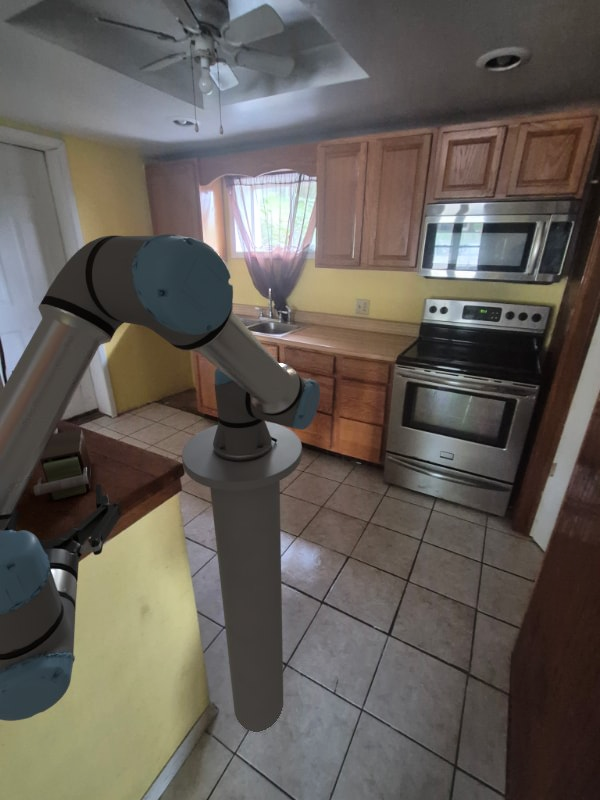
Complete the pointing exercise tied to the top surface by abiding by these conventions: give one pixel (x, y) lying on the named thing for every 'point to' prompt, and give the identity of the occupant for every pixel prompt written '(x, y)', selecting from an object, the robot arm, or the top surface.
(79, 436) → the cabinet
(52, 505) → the top surface
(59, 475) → the drawer
